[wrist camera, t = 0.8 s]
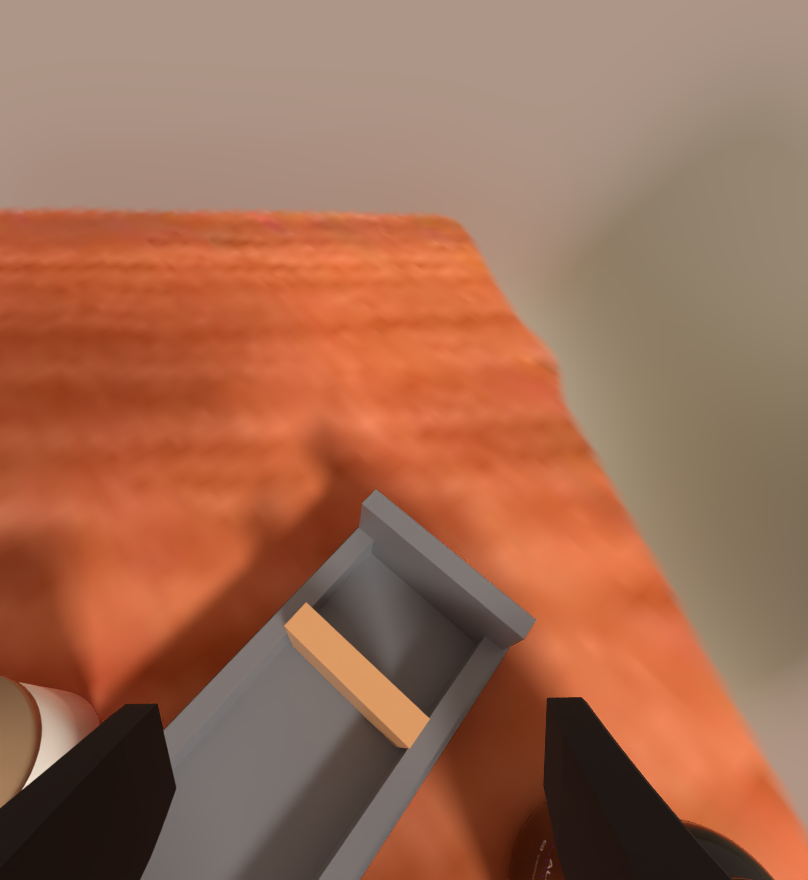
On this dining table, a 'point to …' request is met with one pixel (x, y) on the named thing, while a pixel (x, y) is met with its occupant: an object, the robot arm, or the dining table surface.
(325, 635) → the pusher plate
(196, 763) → the lane tray
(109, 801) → the robot arm
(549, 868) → the supplement bottle
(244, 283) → the dining table surface
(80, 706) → the jar
